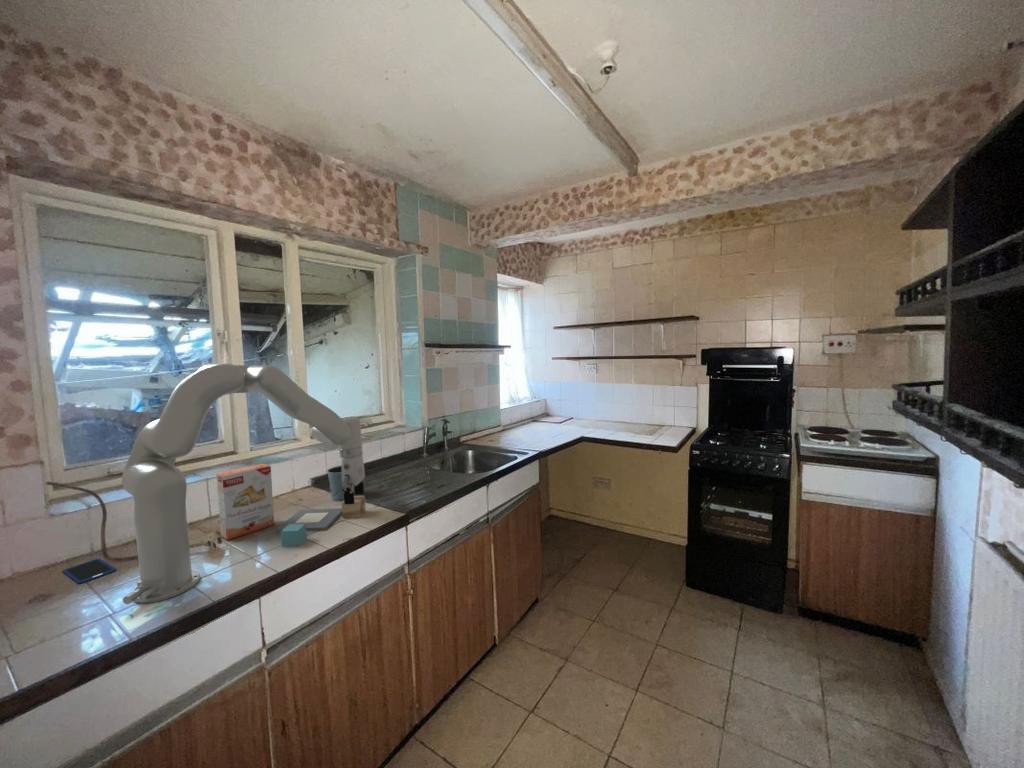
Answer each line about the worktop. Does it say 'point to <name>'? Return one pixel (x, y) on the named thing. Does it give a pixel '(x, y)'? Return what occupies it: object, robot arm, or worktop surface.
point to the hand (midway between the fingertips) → (354, 498)
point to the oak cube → (354, 508)
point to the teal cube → (293, 535)
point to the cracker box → (245, 500)
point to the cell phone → (89, 571)
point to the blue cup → (336, 483)
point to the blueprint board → (313, 519)
